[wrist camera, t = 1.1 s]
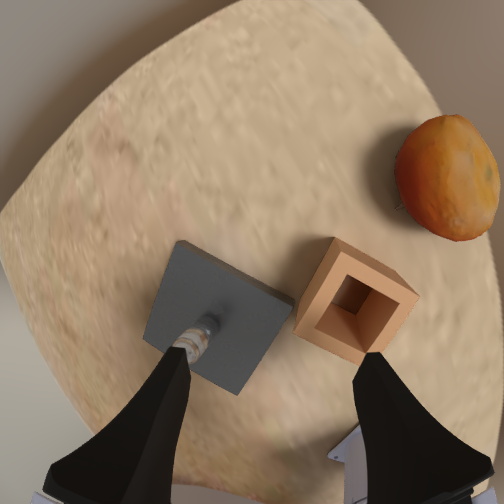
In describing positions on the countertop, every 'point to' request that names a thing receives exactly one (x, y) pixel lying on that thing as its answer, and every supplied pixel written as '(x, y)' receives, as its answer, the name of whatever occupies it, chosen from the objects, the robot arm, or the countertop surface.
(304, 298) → the collar
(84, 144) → the countertop surface
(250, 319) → the post base
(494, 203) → the fruit
